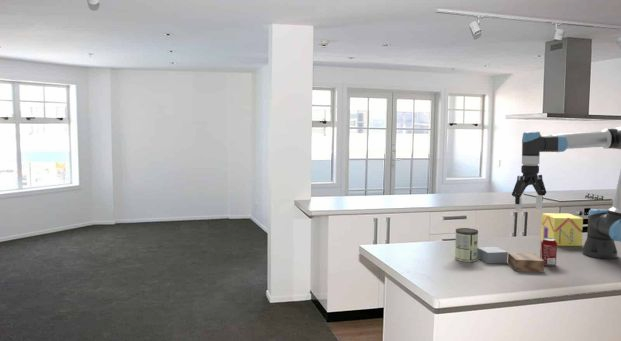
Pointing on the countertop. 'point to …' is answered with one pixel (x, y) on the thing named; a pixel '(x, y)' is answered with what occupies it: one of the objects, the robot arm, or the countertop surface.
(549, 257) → the soda can
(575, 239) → the toy block
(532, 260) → the walnut block
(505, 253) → the slate-grey block
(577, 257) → the countertop surface
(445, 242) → the countertop surface
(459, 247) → the coffee can
